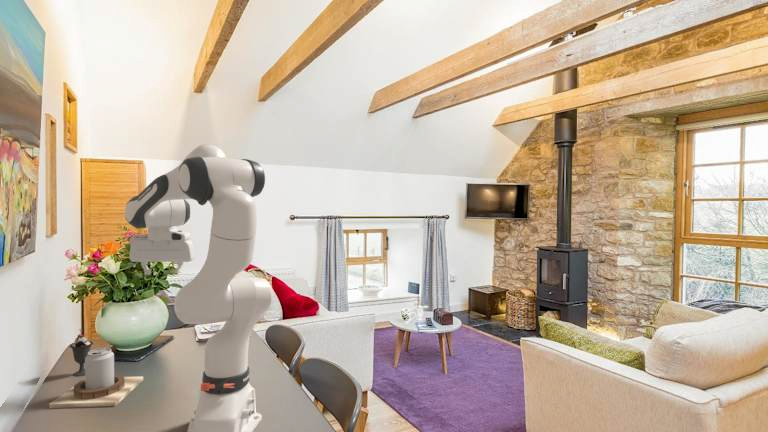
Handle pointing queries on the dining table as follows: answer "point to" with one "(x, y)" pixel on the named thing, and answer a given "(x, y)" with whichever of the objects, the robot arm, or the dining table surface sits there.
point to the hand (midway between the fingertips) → (162, 274)
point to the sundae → (80, 352)
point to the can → (99, 369)
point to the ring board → (97, 401)
